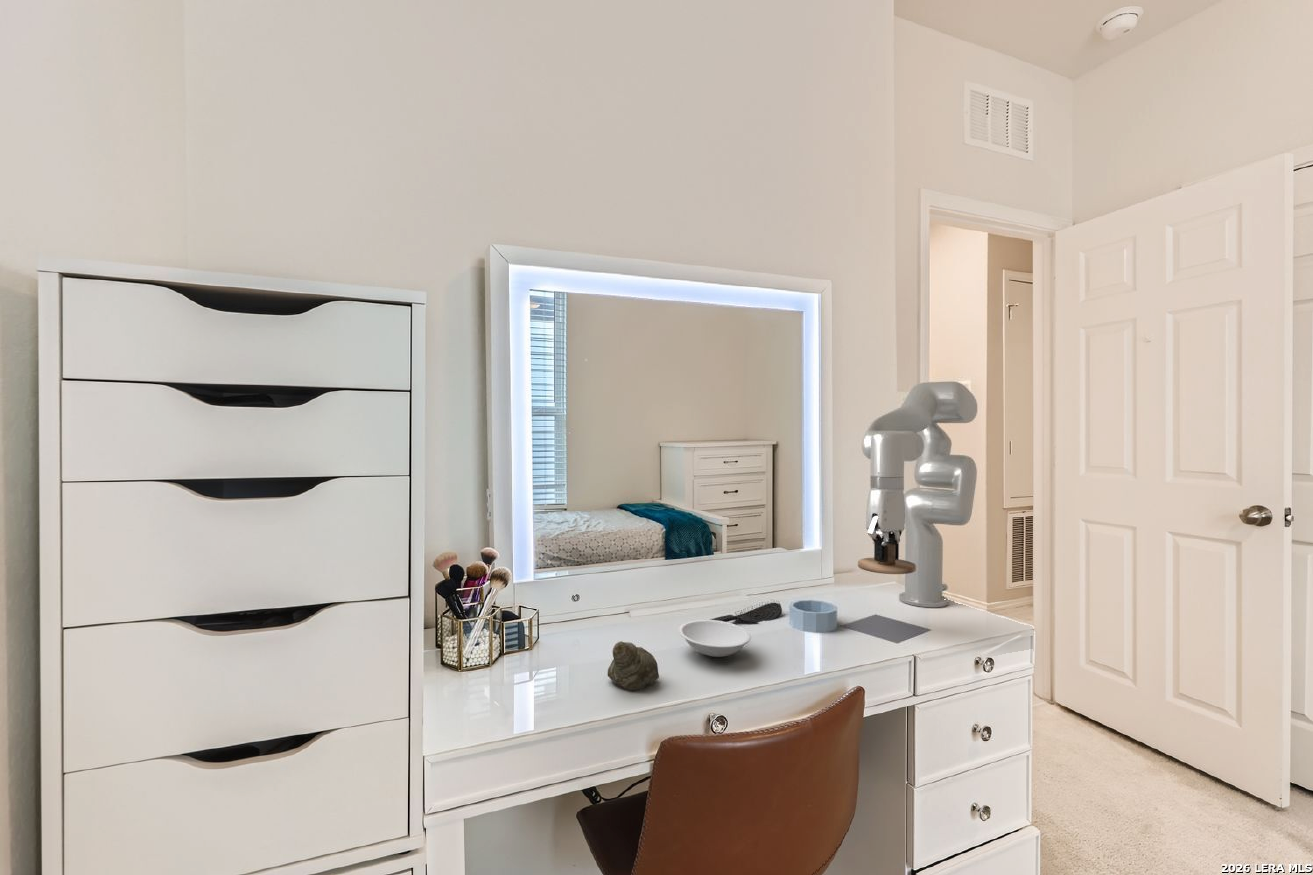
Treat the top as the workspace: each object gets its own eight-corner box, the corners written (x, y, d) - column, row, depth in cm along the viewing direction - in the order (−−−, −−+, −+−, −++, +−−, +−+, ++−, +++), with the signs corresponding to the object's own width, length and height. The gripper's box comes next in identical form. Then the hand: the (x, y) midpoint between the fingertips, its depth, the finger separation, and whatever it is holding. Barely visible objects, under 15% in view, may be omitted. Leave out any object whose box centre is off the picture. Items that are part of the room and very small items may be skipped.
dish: (765, 665, 127) (766, 640, 127) (703, 676, 121) (703, 650, 121) (723, 637, 143) (723, 616, 143) (666, 646, 138) (666, 624, 137)
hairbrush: (689, 615, 152) (767, 595, 165) (690, 630, 152) (767, 609, 165) (709, 625, 145) (789, 604, 158) (710, 640, 145) (789, 618, 158)
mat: (875, 616, 160) (875, 614, 160) (931, 631, 148) (931, 629, 148) (840, 627, 150) (840, 625, 150) (897, 645, 139) (897, 643, 139)
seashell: (586, 647, 120) (602, 664, 111) (634, 608, 124) (653, 622, 115) (617, 691, 123) (635, 711, 113) (662, 651, 126) (683, 668, 117)
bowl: (809, 616, 159) (809, 597, 159) (846, 628, 150) (846, 607, 150) (780, 625, 152) (780, 605, 152) (817, 637, 143) (817, 616, 143)
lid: (877, 559, 158) (877, 537, 158) (926, 568, 148) (926, 545, 148) (846, 566, 150) (847, 544, 150) (896, 577, 140) (896, 552, 140)
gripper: (892, 480, 156) (891, 552, 157) (852, 484, 146) (852, 562, 147) (920, 482, 151) (919, 558, 151) (881, 487, 140) (880, 568, 141)
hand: (886, 559), depth 149 cm, fingers closed on lid, 4 cm apart
